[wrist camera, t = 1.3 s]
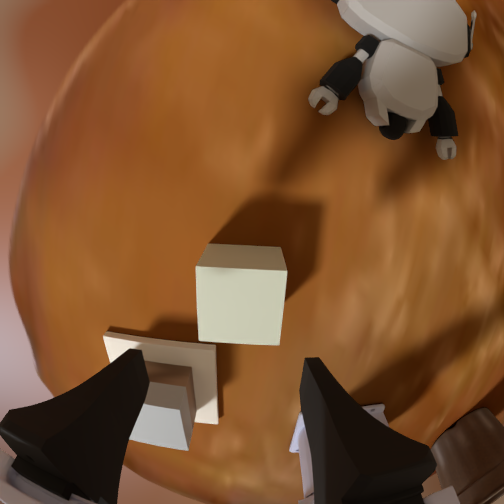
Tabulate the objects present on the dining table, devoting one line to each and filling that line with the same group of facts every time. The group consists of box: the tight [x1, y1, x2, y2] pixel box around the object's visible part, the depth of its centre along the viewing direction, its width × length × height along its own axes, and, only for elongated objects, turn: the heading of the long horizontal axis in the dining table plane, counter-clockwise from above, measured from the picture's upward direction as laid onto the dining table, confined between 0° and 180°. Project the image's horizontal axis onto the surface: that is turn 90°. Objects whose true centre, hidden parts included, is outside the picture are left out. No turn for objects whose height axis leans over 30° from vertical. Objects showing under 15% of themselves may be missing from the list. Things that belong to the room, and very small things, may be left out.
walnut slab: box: [144, 360, 197, 428], centre depth 22 cm, size 6×6×2 cm
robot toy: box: [308, 0, 477, 160], centre depth 13 cm, size 12×4×15 cm
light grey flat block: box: [129, 382, 193, 451], centre depth 19 cm, size 6×6×2 cm
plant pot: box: [431, 408, 504, 504], centre depth 21 cm, size 16×16×16 cm
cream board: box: [103, 331, 219, 424], centre depth 23 cm, size 10×10×1 cm
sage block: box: [196, 243, 287, 345], centre depth 18 cm, size 5×5×4 cm
